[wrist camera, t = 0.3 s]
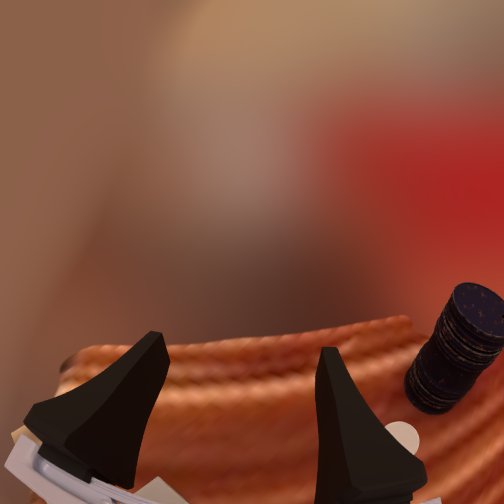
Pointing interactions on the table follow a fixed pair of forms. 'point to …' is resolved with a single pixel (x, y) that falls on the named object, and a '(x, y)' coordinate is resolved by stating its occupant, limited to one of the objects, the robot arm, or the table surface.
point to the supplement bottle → (404, 435)
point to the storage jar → (457, 349)
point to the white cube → (160, 493)
